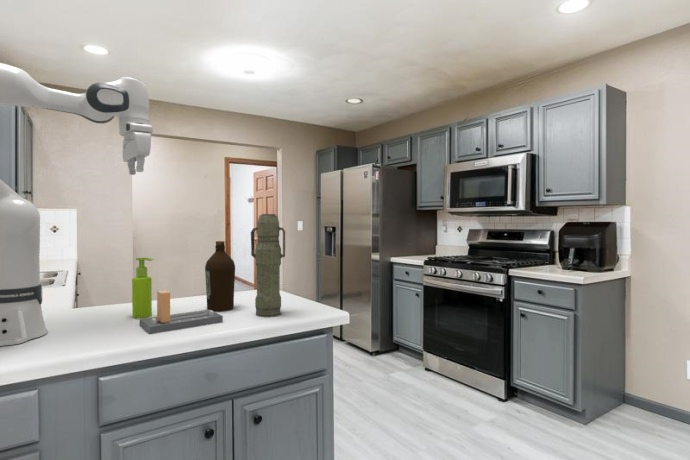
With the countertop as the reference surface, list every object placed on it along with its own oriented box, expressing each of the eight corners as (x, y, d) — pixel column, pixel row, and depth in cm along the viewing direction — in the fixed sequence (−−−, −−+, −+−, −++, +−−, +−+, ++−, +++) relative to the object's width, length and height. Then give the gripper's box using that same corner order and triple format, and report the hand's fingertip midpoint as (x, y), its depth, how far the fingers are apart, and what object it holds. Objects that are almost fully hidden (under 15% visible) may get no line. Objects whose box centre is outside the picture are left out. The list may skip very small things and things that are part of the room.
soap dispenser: (146, 318, 138) (146, 258, 137) (128, 317, 139) (127, 258, 139) (158, 314, 144) (157, 257, 143) (140, 313, 145) (139, 256, 144)
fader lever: (161, 322, 124) (161, 293, 123) (157, 319, 128) (156, 290, 127) (170, 321, 125) (170, 292, 125) (165, 318, 129) (165, 289, 129)
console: (149, 333, 120) (149, 321, 120) (139, 325, 130) (139, 313, 129) (222, 322, 134) (222, 310, 134) (208, 315, 143) (208, 304, 143)
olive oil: (234, 305, 160) (233, 240, 159) (236, 311, 150) (236, 241, 149) (205, 306, 156) (204, 240, 156) (205, 313, 146) (205, 242, 146)
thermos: (251, 311, 149) (251, 214, 148) (285, 310, 151) (285, 214, 150) (249, 317, 140) (249, 214, 139) (285, 316, 142) (285, 214, 141)
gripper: (116, 134, 140) (118, 175, 140) (131, 123, 124) (133, 169, 124) (137, 136, 144) (138, 176, 144) (154, 125, 128) (155, 170, 128)
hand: (136, 173), depth 134 cm, fingers open, 8 cm apart
